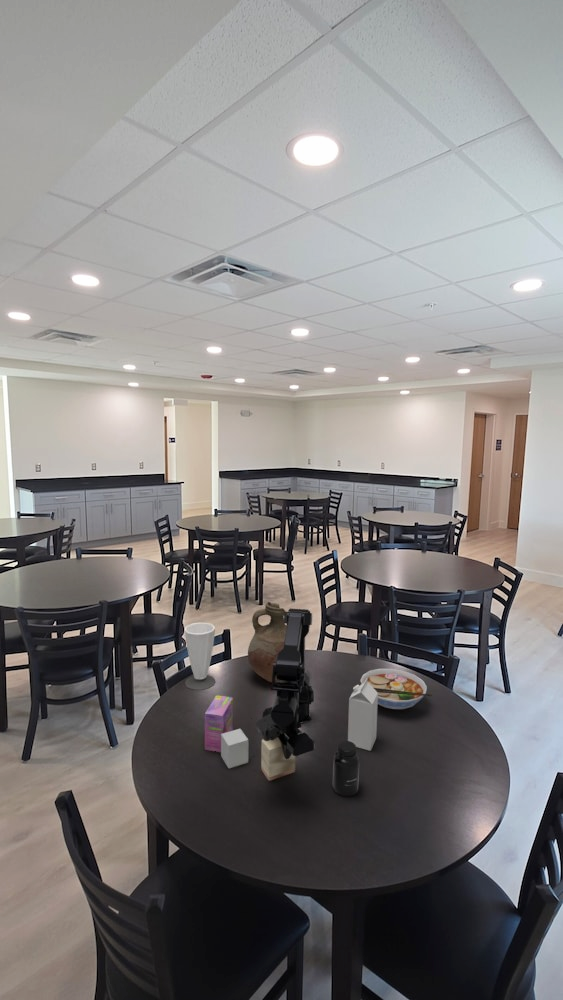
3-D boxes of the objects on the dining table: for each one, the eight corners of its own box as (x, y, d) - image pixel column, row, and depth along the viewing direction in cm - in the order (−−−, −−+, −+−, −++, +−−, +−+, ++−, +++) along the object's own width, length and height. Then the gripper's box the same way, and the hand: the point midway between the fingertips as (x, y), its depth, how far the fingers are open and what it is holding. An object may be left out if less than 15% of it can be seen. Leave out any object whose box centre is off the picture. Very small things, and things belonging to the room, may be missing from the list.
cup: (213, 690, 177) (212, 634, 174) (181, 689, 177) (181, 633, 174) (217, 675, 188) (217, 622, 185) (188, 674, 188) (187, 621, 185)
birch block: (286, 761, 138) (286, 732, 137) (294, 771, 134) (295, 741, 133) (261, 769, 134) (261, 739, 133) (269, 781, 130) (269, 750, 129)
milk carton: (376, 738, 149) (378, 680, 147) (370, 751, 143) (372, 691, 140) (354, 732, 152) (355, 675, 150) (347, 745, 146) (349, 686, 143)
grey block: (240, 750, 143) (240, 728, 142) (248, 762, 137) (248, 739, 137) (221, 756, 140) (221, 734, 139) (228, 768, 135) (228, 745, 134)
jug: (310, 689, 178) (311, 611, 174) (252, 695, 173) (252, 615, 169) (295, 663, 199) (296, 593, 195) (244, 668, 194) (244, 596, 190)
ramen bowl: (425, 690, 178) (426, 669, 177) (433, 725, 156) (434, 702, 155) (357, 683, 183) (357, 663, 182) (355, 717, 160) (356, 694, 159)
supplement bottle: (352, 801, 123) (353, 757, 122) (328, 790, 127) (329, 748, 125) (362, 785, 129) (363, 743, 127) (339, 775, 132) (340, 735, 131)
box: (222, 753, 141) (222, 715, 140) (204, 750, 143) (204, 713, 141) (233, 732, 151) (233, 697, 150) (216, 729, 153) (215, 694, 151)
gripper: (245, 694, 131) (245, 747, 133) (276, 731, 115) (276, 790, 117) (281, 684, 136) (281, 735, 138) (316, 719, 120) (315, 776, 122)
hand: (287, 758), depth 129 cm, fingers closed
